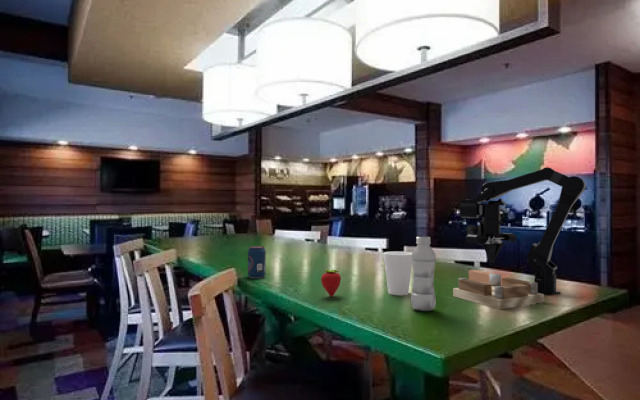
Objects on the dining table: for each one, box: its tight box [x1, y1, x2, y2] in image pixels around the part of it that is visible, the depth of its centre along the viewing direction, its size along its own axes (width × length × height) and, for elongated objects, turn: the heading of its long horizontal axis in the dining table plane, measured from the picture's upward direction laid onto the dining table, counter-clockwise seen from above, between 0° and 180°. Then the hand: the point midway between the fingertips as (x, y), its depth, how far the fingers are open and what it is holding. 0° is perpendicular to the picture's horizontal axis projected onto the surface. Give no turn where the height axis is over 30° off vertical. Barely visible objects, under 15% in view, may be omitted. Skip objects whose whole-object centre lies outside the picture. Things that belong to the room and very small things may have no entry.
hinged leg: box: [468, 269, 502, 285], centre depth 141 cm, size 12×4×3 cm, turn 25°
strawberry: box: [320, 263, 342, 297], centre depth 132 cm, size 6×8×10 cm
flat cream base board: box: [452, 277, 545, 310], centre depth 128 cm, size 18×18×6 cm
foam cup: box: [383, 251, 413, 296], centre depth 137 cm, size 10×9×13 cm
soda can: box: [247, 245, 267, 279], centre depth 166 cm, size 7×7×12 cm
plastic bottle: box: [410, 236, 437, 312], centre depth 115 cm, size 6×7×20 cm
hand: (491, 262), depth 148 cm, fingers closed
